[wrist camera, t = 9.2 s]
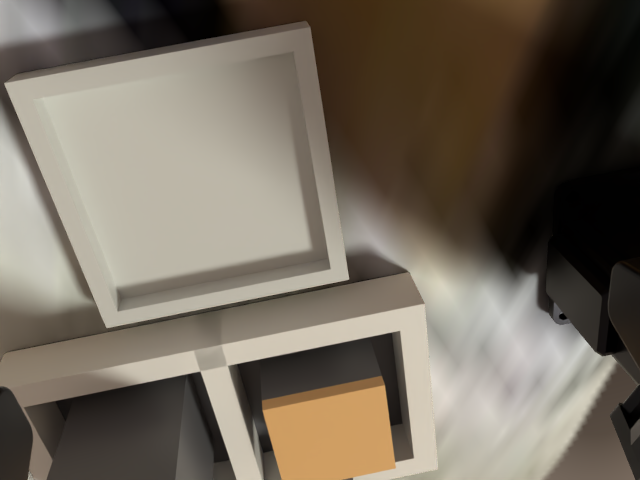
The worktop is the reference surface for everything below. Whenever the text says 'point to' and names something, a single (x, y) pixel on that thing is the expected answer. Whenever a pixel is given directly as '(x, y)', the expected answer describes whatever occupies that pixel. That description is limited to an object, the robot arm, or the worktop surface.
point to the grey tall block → (136, 435)
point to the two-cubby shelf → (241, 370)
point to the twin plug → (327, 412)
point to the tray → (189, 171)
